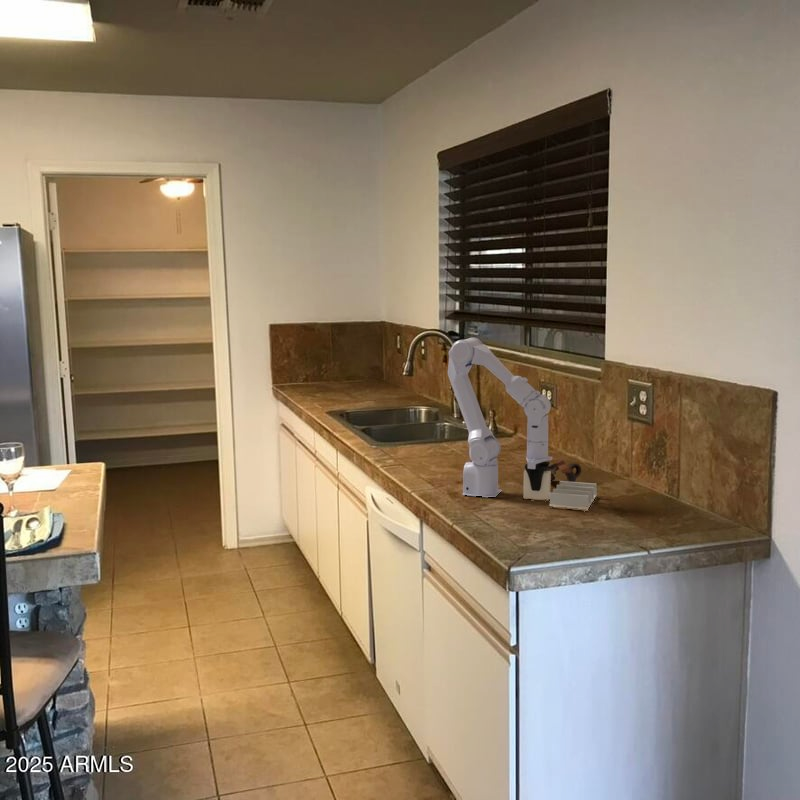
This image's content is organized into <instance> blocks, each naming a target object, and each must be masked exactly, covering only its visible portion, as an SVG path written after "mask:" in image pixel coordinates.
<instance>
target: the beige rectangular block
mask: <svg viewBox="0 0 800 800" xmlns="http://www.w3.org/2000/svg"><path fill="white" fill-rule="evenodd" d="M551 483H552V481H551V471H544V473H543V477H542V482H541V488H540V491H533V490H532V489H531V484H530V480H529V476H528V473H527V471H526V470H525V469H524V470H523V485H522V486H523V491H522V492H523V495H522V496H523V498H533V499H547V500H548V499H550V492H551V490H552V489H551V486H552V484H551Z"/></svg>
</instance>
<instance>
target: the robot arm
mask: <svg viewBox="0 0 800 800" xmlns="http://www.w3.org/2000/svg"><path fill="white" fill-rule="evenodd" d="M448 357H449V358H448V366H447V377H448V379H449V381H450V385H451V387H452V391H453V393H454V395H455V398H456V401H457V404H458V407H459V409H460V412H461V415H462V417H463V418H462V419H463V420H464V423H465V426H466V428H467V431H468V438H467V443H468V447H469V451H468V454H469V458H470V460H471V461H467V462H465V464H464V466H463V471H462V489H463V490H462V491H463V492H462V496H465V495H467V497H476V496H482V497H481V498H488V497H496V496H497V495H498V494H499V493H500V492H501V491H502V492H503V490H502V489H499V482H498V481H499V460H498V457H499V455H500V453H501V452H502V451H501V450H502V449H501V447H502V446H501V443H500V441H498V438H496V437H495V436H494V434H493V431H492V430H491V429H490V428H489V427H488V426H487V423H486V421H485V417H484V415H483V413H482V410H481V408H480V403H479V401H478V398H477V396H476V393H475V391H474V388H473V385H472V383H471V380H470V377H469V372H470V371H471V369H472V367H473V365H477V366H484V367H485V368H486V369H487V370H488V371H489V372H491V373H492V374H493V375H494V376H495V377H497V379H499V380H500V381H501V382H502V383H503V384H504V386H505V392H506V393H507V394H508V395H509V396H510V397H511V398H512V399H514V401H515V402H516V403H518V405H519V406H521V407H522V408H523V412H524V414H525V415H526V419H527V423H526V456H525V460H526V461H527V464H526V463H525V465H524V470H526V471H527V473H528V476H529V480H530V484H531V489H532V490H533V491H540V488H541V482H542V477H543V473H544V471H546V470H547V468H548V466H549V465H551V464H550V463H551V462H550V461H552V460H553V456H549V412H550V411H551V409H552V403H551V401H550V399H549V398H548V397H547V396H546V395H545V394H541V392H540V391H539V390H536V389H535V388H534V387H532V385H531V384H530V383H528V381H529V379H528V378H526V377H522V376H521V375H514V374H513V373H512V372H511V371H510V369H508V368H507V366H505V365H504V364H503V363H502V361H500V359H499V358H498V357H497V356H496V355H495V354H494V353H493V352H492V350H491V349H489V347H488V346H487V345H486V344H484V343H483V342H482V341H481V340H480V339H479V338H477V337H469V338H466V339H465V338H464V339H459V340H457V341H455V342H453V344H452V346H451V347H450V349H449V350H448ZM502 492H501V493H502ZM501 493H500V494H501ZM500 494H499V495H500ZM499 495H498V496H499ZM498 496H497V497H498ZM497 497H496V498H497Z"/></svg>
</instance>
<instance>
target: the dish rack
mask: <svg viewBox="0 0 800 800" xmlns="http://www.w3.org/2000/svg"><path fill="white" fill-rule="evenodd" d="M597 485H598V484H597V483H593V482H580V481H579V482H578V481H576V482H568V481H565V480H559V484H556V488H555V487H554V488H553V490H552V492H551V491H550V501H549V506H553V507H567V508H578V509H586V510H588V508H589V507H590V505H591V503H592V502H593V501H594V499H595V497H596V496H598V494H597ZM595 500H596V499H595ZM594 502H595V501H594ZM594 502H593V503H594ZM591 506H592V505H591ZM590 508H591V507H590ZM588 511H589V510H588Z"/></svg>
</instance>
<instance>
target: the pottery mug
mask: <svg viewBox="0 0 800 800" xmlns="http://www.w3.org/2000/svg"><path fill="white" fill-rule="evenodd" d="M574 469H575V473H574ZM558 470H559V471H560V472H561V473H562V474H564V475H565V477H566V479H565V480H564V481H568V482H577V481H576V479H578V478H579V477H580V475H581V474H582V466H581V465H580V464H579V463H577V462H573V463H571V464H567V463H565V461H564V459H563V460H558V461H556V462H554V463H552V464H549V466H548V468H547V470H546V471H551V480H554V481H555V480H556V476H555V475H557V471H558Z"/></svg>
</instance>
